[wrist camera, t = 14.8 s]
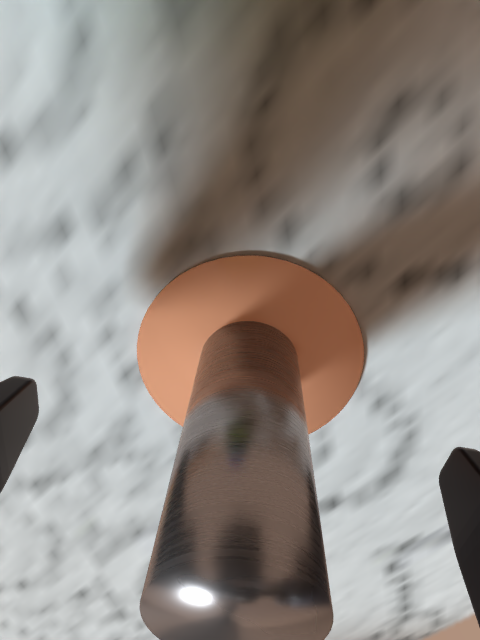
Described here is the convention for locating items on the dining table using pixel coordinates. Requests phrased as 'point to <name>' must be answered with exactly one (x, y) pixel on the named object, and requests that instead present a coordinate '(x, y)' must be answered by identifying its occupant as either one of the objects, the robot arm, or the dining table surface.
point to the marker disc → (260, 306)
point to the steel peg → (241, 503)
